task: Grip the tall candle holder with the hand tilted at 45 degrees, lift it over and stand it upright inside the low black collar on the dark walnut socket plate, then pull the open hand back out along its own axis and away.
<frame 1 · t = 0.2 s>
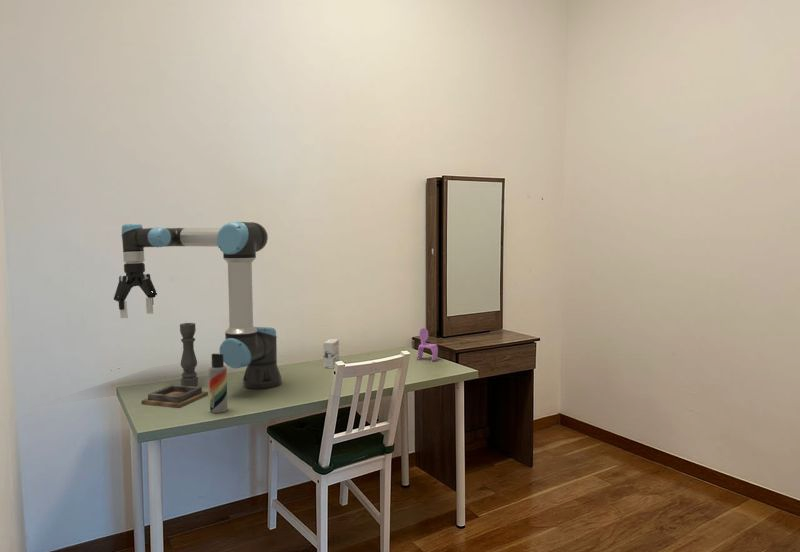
hand: (137, 315, 223), 28 cm above the table, tool pointing down, fingers open, 13 cm apart
ink box: (331, 366, 253), on the table
toy chair: (427, 360, 265), on the table
candle holder: (189, 386, 220), on the table
socket plate: (175, 399, 203), on the table
lotion bottle: (219, 411, 190), on the table
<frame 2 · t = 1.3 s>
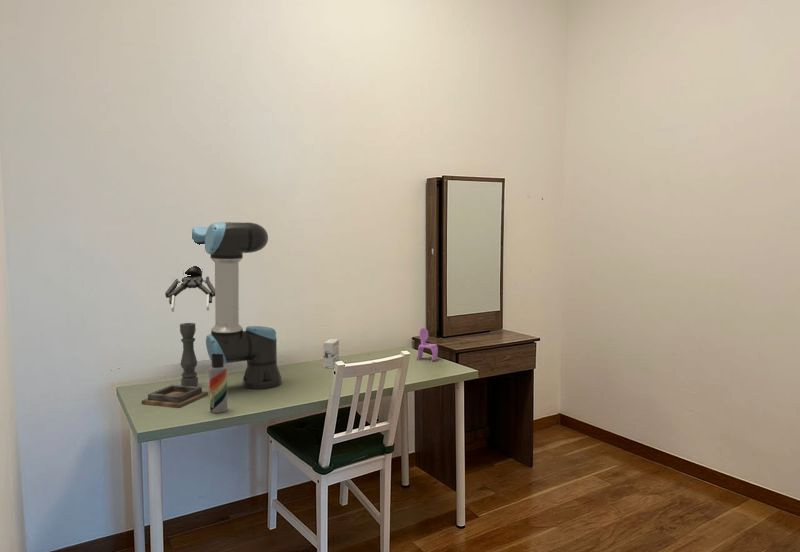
hand: (190, 309, 228), 29 cm above the table, tool tilted 45°, fingers open, 13 cm apart
nothing on the table moved.
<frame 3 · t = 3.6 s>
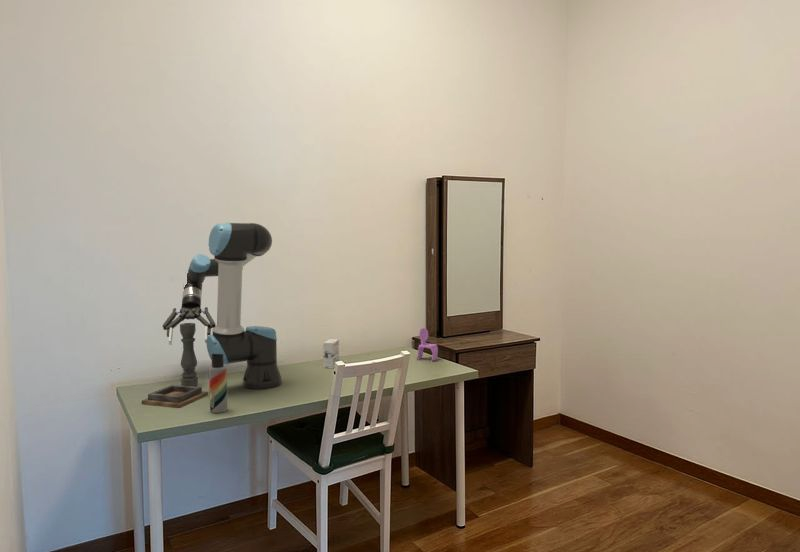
hand: (188, 342, 223), 17 cm above the table, tool tilted 45°, fingers open, 13 cm apart
nothing on the table moved.
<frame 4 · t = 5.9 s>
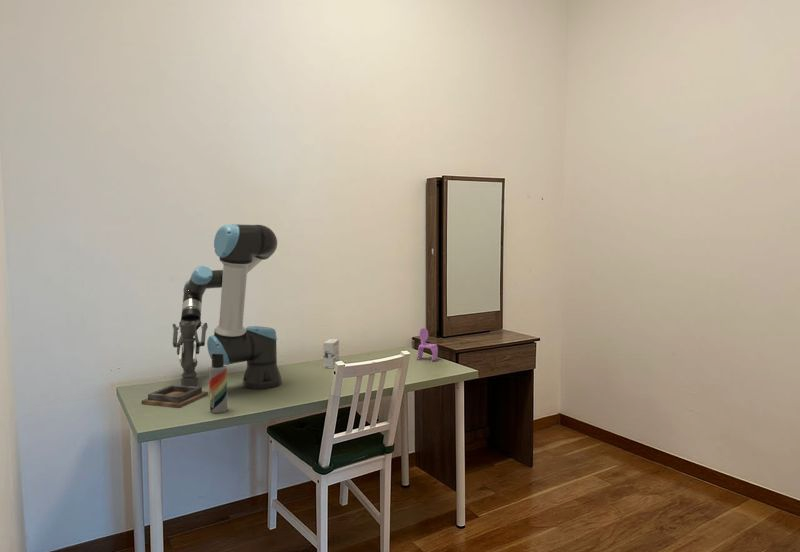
hand: (187, 360, 216), 11 cm above the table, tool tilted 45°, fingers closed on candle holder, 4 cm apart
candle holder: (189, 386, 220), on the table, touching gripper
everything else where it was.
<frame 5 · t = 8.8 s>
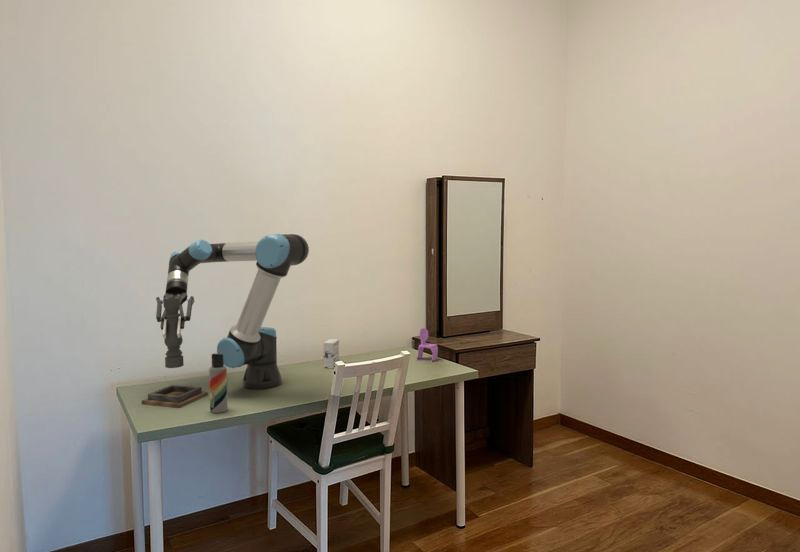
hand: (171, 335, 198), 24 cm above the table, tool tilted 45°, fingers closed on candle holder, 4 cm apart
candle holder: (174, 366, 203), point 12 cm above the table, touching gripper
everything else where it was.
when the fingers open (13 cm above the table, at t = 11.8 s): candle holder stays where it is, resting on socket plate.
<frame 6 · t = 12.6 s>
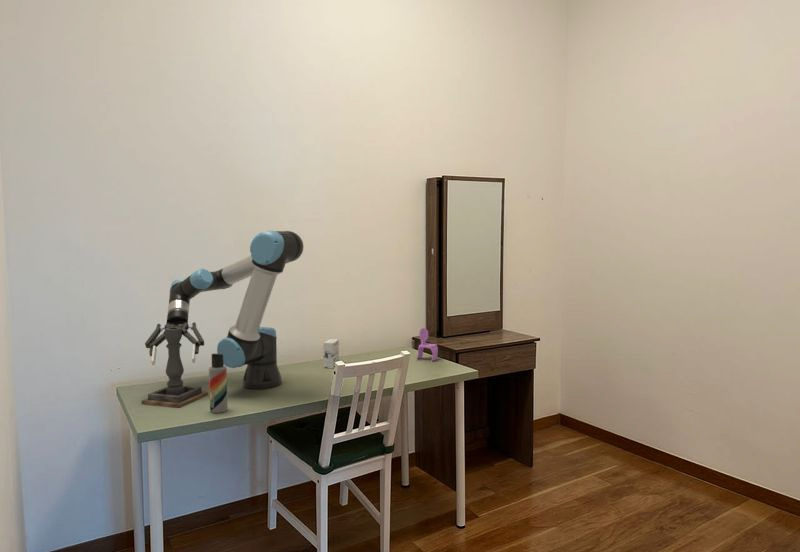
hand: (173, 362, 200), 14 cm above the table, tool tilted 45°, fingers open, 13 cm apart
candle holder: (175, 396, 204), point 1 cm above the table, touching socket plate
everything else where it was.
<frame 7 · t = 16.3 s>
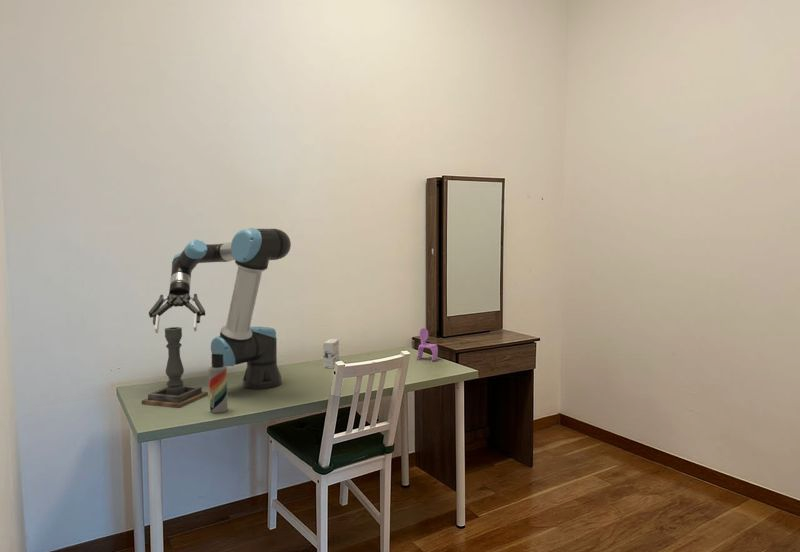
hand: (175, 330, 209), 24 cm above the table, tool tilted 45°, fingers open, 13 cm apart
nothing on the table moved.
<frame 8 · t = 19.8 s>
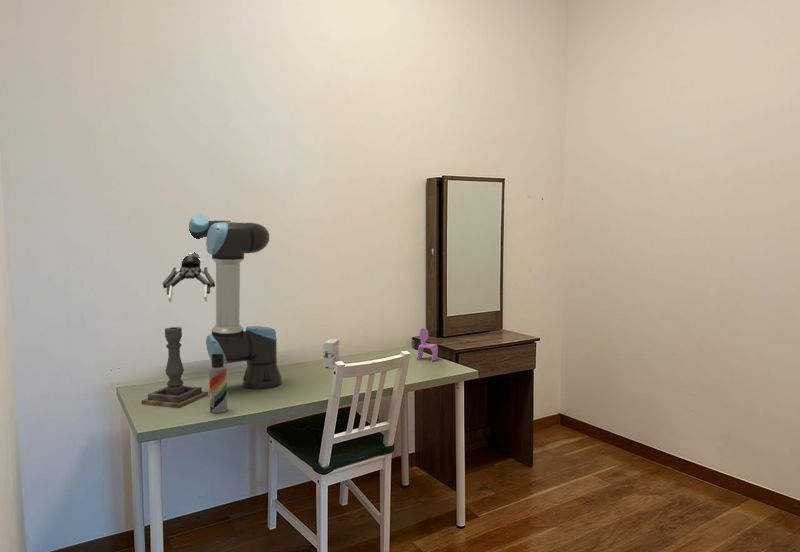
hand: (187, 299, 226), 34 cm above the table, tool tilted 45°, fingers open, 13 cm apart
nothing on the table moved.
at the end: candle holder 0.2 cm off-centre on the socket plate, point 1.0 cm above the socket plate's base; candle holder tilted 0°; the gripper is holding nothing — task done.
